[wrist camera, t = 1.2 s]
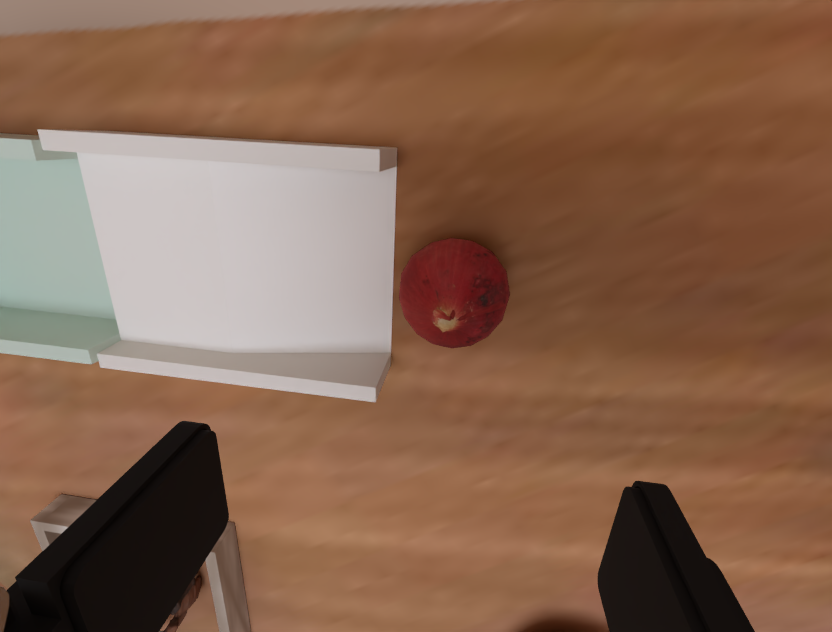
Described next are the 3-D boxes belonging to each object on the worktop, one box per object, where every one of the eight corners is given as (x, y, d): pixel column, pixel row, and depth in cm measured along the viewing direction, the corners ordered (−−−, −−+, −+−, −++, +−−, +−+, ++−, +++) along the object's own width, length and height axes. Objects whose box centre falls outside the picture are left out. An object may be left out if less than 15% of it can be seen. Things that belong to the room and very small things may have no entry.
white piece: (400, 147, 25) (379, 149, 20) (393, 359, 31) (375, 402, 26) (119, 130, 27) (37, 129, 22) (159, 332, 33) (100, 367, 28)
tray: (108, 139, 27) (30, 139, 22) (148, 331, 32) (92, 364, 27) (-67, 128, 28) (-175, 127, 23) (-2, 314, 33) (-80, 342, 28)
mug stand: (234, 522, 38) (214, 552, 35) (254, 655, 45) (240, 689, 43) (61, 494, 40) (30, 520, 37) (107, 626, 47) (84, 656, 45)
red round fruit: (496, 216, 25) (501, 248, 18) (512, 307, 27) (523, 371, 20) (400, 237, 26) (368, 275, 19) (422, 323, 28) (401, 388, 21)
